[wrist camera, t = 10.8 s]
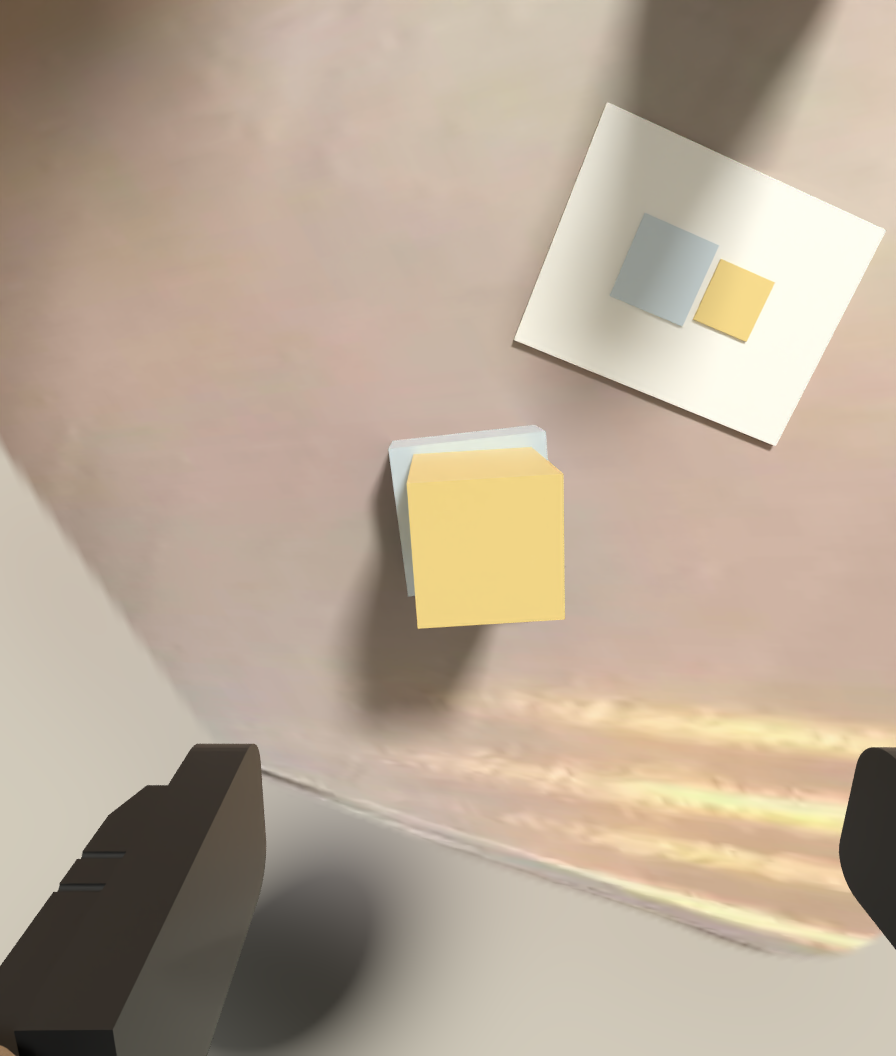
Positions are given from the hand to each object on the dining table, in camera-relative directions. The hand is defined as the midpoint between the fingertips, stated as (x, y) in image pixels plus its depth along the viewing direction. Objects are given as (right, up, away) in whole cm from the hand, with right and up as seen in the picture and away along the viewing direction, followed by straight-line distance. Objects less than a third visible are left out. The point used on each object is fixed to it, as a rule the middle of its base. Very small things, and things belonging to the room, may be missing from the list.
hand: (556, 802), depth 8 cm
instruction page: (+8, +13, +16) cm, 23 cm away
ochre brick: (0, +4, +16) cm, 16 cm away
